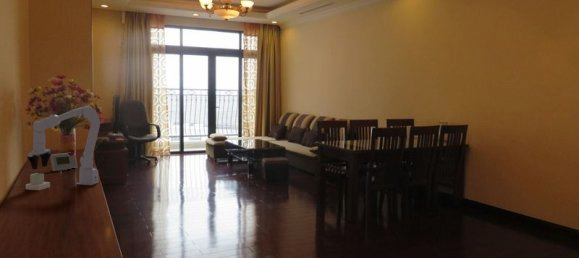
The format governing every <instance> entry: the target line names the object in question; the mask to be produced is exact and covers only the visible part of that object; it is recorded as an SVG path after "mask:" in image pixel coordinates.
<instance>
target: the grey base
mask: <svg viewBox="0 0 579 258" xmlns="http://www.w3.org/2000/svg"><path fill="white" fill-rule="evenodd" d="M50 187H51V182H50V181H44V183H42V184H38V185H37V184H30V182H29V183H26V184H25V190H30V191H43V190H45V189H48V188H50Z"/></svg>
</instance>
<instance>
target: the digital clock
mask: <svg viewBox="0 0 579 258" xmlns="http://www.w3.org/2000/svg"><path fill="white" fill-rule="evenodd" d="M68 153H69V152H63V153H62V152H61V153H53V154H52V153H51V156H50V158H49V160H50V165H51V170H52V172H61V170H63V171H68V170H67V169H71V168H75V170H76V169H78V163H77V157H76V153H75V152H74V156H73V157H70V155H69V154H68ZM71 170H72V169H71Z"/></svg>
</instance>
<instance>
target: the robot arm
mask: <svg viewBox="0 0 579 258" xmlns="http://www.w3.org/2000/svg"><path fill="white" fill-rule="evenodd" d="M82 116H84V118H86V119H87V120H88V121H89V123H90V127H89V131H88V135H87V139H86V144H85V147H84V150H83V154H82V155H81V157H80V159H79V164H80V166H79V170H78V171H79V174H78V175H79V177H78V178H79V180H78V181H79V182H76V183H75V185H82V186H93V185H96V184H99V183H100V181H99V170H98V169H97V168H95V167H94V166H93V165H94V152H95V151H94V150H95V147H96V144H97V143H96V142H97V139H98V135H99V130H100V126H101V124H102V123H101V119H100V117H99V115H98V113H97V111H96V110H95V108H93V107H92V106H90V105H85V106H83V107H82V106H81V107H80V106H79V107H78V108H77V107H76V108H74V109H71V110H69V111H67V112H64V113H62V114H60V115H57V114H50V115H49V116H47V117H44V118H40V120H35V121H34V122H33V124H32V128H33V131H32V144H33V145H32V146H33V147H32V150H31V151H30V152H28V153H27V154H28V155H27V156H26V157H27V159H28V161H29V164H31V165H30V166H31V168H32V170H37V169H38V163H39V159H41V166H42V167H44V168H46V167H47V166H48V163H49V160H50V156H51V155H52V153H51V149H50V148H46V133H45V130H46V129H51V128H53V127H55V126H58V125H60V124H61V122H62V121H65V120H67V119H70V118H74V117H82Z"/></svg>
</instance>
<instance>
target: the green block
mask: <svg viewBox="0 0 579 258" xmlns="http://www.w3.org/2000/svg"><path fill="white" fill-rule="evenodd" d="M29 179H30V180H29V183H30V184H37V185H38V184H42V183H44V182H45V174H44V173H41V172H40V173H38V172H36V173H31V174H30V175H29Z"/></svg>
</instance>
